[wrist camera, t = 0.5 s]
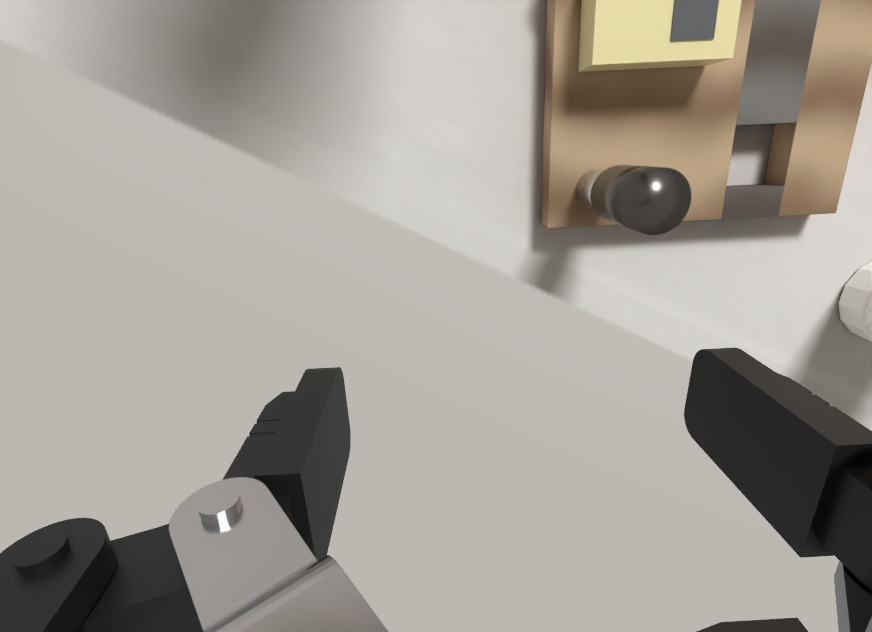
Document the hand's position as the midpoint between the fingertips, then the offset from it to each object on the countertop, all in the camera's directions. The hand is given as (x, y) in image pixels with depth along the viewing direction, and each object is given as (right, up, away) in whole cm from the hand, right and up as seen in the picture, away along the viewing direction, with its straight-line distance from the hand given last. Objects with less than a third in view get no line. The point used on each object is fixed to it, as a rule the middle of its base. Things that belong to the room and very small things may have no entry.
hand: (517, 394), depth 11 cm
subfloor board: (+15, +17, +21) cm, 31 cm away
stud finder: (+11, +19, +17) cm, 28 cm away
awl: (+9, +10, +20) cm, 24 cm away
